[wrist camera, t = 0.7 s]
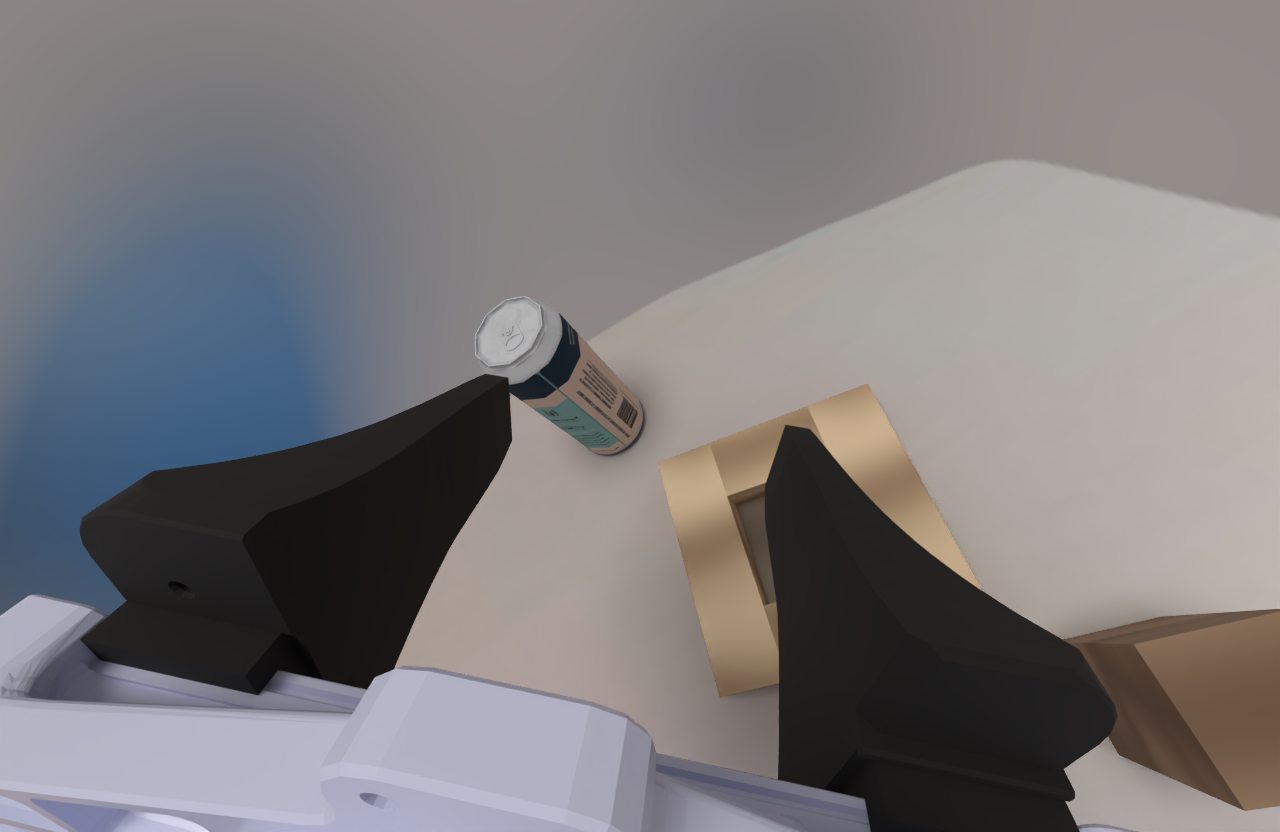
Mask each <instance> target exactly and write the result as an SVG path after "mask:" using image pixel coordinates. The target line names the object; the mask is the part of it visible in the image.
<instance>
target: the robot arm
mask: <svg viewBox="0 0 1280 832" xmlns="http://www.w3.org/2000/svg"><path fill="white" fill-rule="evenodd" d="M511 442H512V430H511V412H510V394H509V378H508V377H502V376H496V375H490V374H484V375H482V376H479V377H477V378H475V379H472V380H470V381H468V382H466V383H464V384H462V385H460V386H458V387H456V388H454V389H451V390H449V391H447V392H445V393H443V394H441V395H439V396H437V397H435V398H433V399H431V400H429V401H426V402H424V403H422V404H420V405H418V406H415V407H413V408H410V409H408V410H406V411H403V412H401V413H399V414H396V415H394V416H392V417H390V418H387V419H385V420H382V421H380V422H377V423H375V424H372V425H369V426H366V427H363V428H360V429H357V430H354V431H351V432H348V433H345V434H342V435H339V436H336V437H332V438H328V439H325V440H321V441H317V442H313V443H310V444H306V445H302V446H298V447H295V448H291V449H286V450H282V451H277V452H273V453H268V454H263V455H259V456H253V457H247V458H242V459H237V460H231V461H225V462H219V463H211V464H205V465H197V466H190V467H182V468H175V469H168V470H158V471H153V472H151V473H149V474H148V475H146V476H145V477H143V478H142V479H140V480H139V481H138V482H136V483H134V484H133V485H131V486H130V487H128V488H127V489H125V490H124V491H122V492H120V493H119V494H117V495H116V496H114V497H113V498H111V499H110V500H108V501H106V502H105V503H103V504H102V505H100V506H99V507H97V508H96V509H94V510H92V511H91V512H90V513H88V514H87V515H85V516H84V517H83V518H82V521H81V525H80V536H81V539H82V543H83V545H84V547H85V548H86V550H87V551H88V553H89V554H90V556H91V557H92V558H93V559H94V561H95V562H96V563H97V565H98V566H99V567H100V568H101V569H102V571H103V572H104V573H105V574H106V576H107V577H108V578H109V579H110V580H111V582H112V583H113V584H114V586H115V587H116V588H117V589H118V590H119V592H120V593H121V594H122V595H123V597H124V598H125V599H126V600H127V601H126V602H125V603H124V604H123V605H121V606H120V607H119V608H118V609H116V610H115V611H114V612H113V613H112V614H110V615H109V616H108V615H107V614H106V613H104V612H102V611H100V610H98V609H97V608H94V607H91V606H88V605H84V604H80V603H75V602H71V601H66V600H61V599H57V598H52V597H47V596H43V595H29V596H28V597H27V598H25V599H24V600H22V601H21V602H19V603H18V604H17V605H15V606H14V607H12V608H11V609H9V610H8V611H7V612H5V613H4V614H3V615H1V616H0V832H1137V831H1132V830H1128V829H1123V828H1118V827H1114V826H1109V825H1101V824H1086V825H1079V826H1077V825H1076V823H1075V821H1074V818H1073V816H1072V814H1071V812H1070V810H1069V808H1068V806H1067V804H1066V802H1065V801H1069V802H1070V801H1071V800H1073V799H1075V791H1074V789H1073V787H1072V785H1071V783H1070V781H1069V779H1068V777H1067V775H1066V773H1065V771H1064V768H1066V767H1067V766H1069V765H1070V764H1071V763H1073V762H1074V761H1076V760H1077V759H1079V758H1080V757H1082V756H1083V755H1084V754H1086V753H1087V752H1089V751H1090V750H1092V749H1093V748H1095V747H1096V746H1097V745H1099V744H1100V743H1101V742H1102V741H1103V740H1104V739H1105V738H1106V737H1108V736H1109V735H1110V734H1111V732H1112V730H1113V728H1114V725H1115V723H1116V720H1117V718H1118V716H1117V711H1116V707H1115V704H1114V702H1113V701H1112V699H1111V698H1110V696H1109V694H1108V693H1107V691H1106V690H1105V688H1104V687H1103V685H1102V684H1101V682H1100V681H1099V679H1098V677H1097V676H1096V674H1095V673H1094V671H1093V670H1092V668H1091V667H1090V665H1089V664H1088V662H1087V660H1086V659H1085V657H1084V656H1083V654H1082V653H1081V651H1080V650H1079V649H1078V648H1076V647H1074V646H1073V645H1071V644H1069V643H1067V642H1066V641H1064V640H1062V639H1060V638H1059V637H1057V636H1055V635H1054V634H1052V633H1050V632H1048V631H1047V630H1045V629H1043V628H1041V627H1040V626H1038V625H1036V624H1034V623H1033V622H1031V621H1029V620H1028V619H1026V618H1024V617H1022V616H1021V615H1019V614H1017V613H1016V612H1014V611H1012V610H1011V609H1009V608H1008V607H1006V606H1005V605H1003V604H1002V603H1000V602H998V601H997V600H995V599H994V598H992V597H991V596H989V595H988V594H986V593H985V592H983V591H982V590H980V589H979V588H977V587H976V586H974V585H973V584H971V583H970V582H969V581H967V580H966V579H964V578H963V577H961V576H960V575H959V574H957V573H956V572H954V571H953V570H952V569H951V568H949V567H948V566H947V565H945V564H944V563H943V562H941V561H940V560H939V559H937V558H936V557H935V556H933V555H932V554H931V553H929V552H928V551H927V550H926V549H925V548H923V547H922V546H921V545H920V544H918V543H917V542H916V541H915V540H914V539H913V538H911V537H910V536H909V535H908V534H907V533H906V532H905V531H903V530H902V529H901V528H900V527H899V526H898V525H897V524H895V523H894V522H893V521H892V520H891V519H890V518H889V517H888V516H887V515H886V514H885V513H884V512H883V511H882V510H881V509H880V508H879V507H878V506H877V505H876V504H875V503H874V502H873V501H872V500H871V499H870V498H869V497H868V496H867V495H866V494H865V493H864V492H863V491H862V489H861V488H860V487H859V486H858V485H857V484H856V483H855V482H854V481H853V479H852V478H851V477H850V476H849V475H848V474H847V473H846V471H845V470H844V469H843V468H842V467H841V465H840V464H839V463H838V462H837V461H836V459H835V458H834V457H833V456H832V455H831V453H830V452H829V451H828V450H827V448H826V447H825V446H824V445H823V444H822V442H821V441H820V440H819V439H818V437H817V436H816V435H815V434H814V433H813V432H812V431H811V429H808V428H802V427H796V426H791V425H785V427H784V430H783V433H782V436H781V439H780V442H779V445H778V448H777V451H776V454H775V457H774V460H773V463H772V466H771V469H770V472H769V475H768V478H767V481H766V484H765V524H766V532H767V539H768V547H769V554H770V561H771V568H772V575H773V582H774V589H775V596H776V605H777V617H778V647H779V765H778V780H777V779H772V778H768V777H763V776H759V775H754V774H749V773H745V772H740V771H736V770H731V769H727V768H722V767H718V766H713V765H708V764H704V763H699V762H695V761H690V760H686V759H681V758H676V757H672V756H667V755H663V754H658V753H656V751H655V747H654V744H653V740H652V737H651V736H650V735H649V733H648V732H647V731H646V729H644V728H643V727H642V726H640V725H639V724H638V723H636V722H635V721H634V720H633V719H631V718H630V717H629V716H627V715H626V714H625V713H622V712H619V711H617V710H614V709H611V708H608V707H605V706H602V705H600V704H597V703H594V702H591V701H586V700H581V699H577V698H572V697H567V696H563V695H558V694H553V693H549V692H544V691H539V690H535V689H530V688H525V687H521V686H516V685H511V684H507V683H502V682H497V681H493V680H488V679H483V678H479V677H474V676H469V675H465V674H460V673H455V672H451V671H446V670H441V669H437V668H428V667H413V666H402V667H399V668H396V669H394V668H395V665H396V663H397V660H398V658H399V655H400V653H401V651H402V649H403V646H404V644H405V642H406V639H407V637H408V635H409V632H410V630H411V628H412V625H413V623H414V621H415V619H416V616H417V614H418V612H419V610H420V608H421V606H422V604H423V601H424V599H425V597H426V595H427V593H428V591H429V589H430V586H431V584H432V582H433V580H434V578H435V576H436V574H437V572H438V570H439V568H440V566H441V564H442V562H443V560H444V558H445V556H446V554H447V552H448V550H449V548H450V547H451V545H452V543H453V542H454V540H455V538H456V536H457V535H458V533H459V532H460V530H461V529H462V527H463V525H464V524H465V522H466V521H467V519H468V518H469V516H470V515H471V513H472V512H473V510H474V508H475V507H476V505H477V504H478V502H479V501H480V499H481V498H482V496H483V495H484V493H485V491H486V490H487V488H488V487H489V485H490V483H491V482H492V480H493V479H494V477H495V475H496V474H497V472H498V471H499V468H500V466H501V464H502V462H503V460H504V458H505V456H506V453H507V451H508V449H509V446H510V444H511Z"/></svg>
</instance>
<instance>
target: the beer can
mask: <svg viewBox="0 0 1280 832" xmlns="http://www.w3.org/2000/svg"><path fill="white" fill-rule="evenodd" d="M475 355H476V356H477V357H478V361H479V364H480V366H481V369H482V371H483V372H484V374H490V375H496V376H502V377H508V378H509V392H510V393H511V394H513V395H514V396H516V397H517V398H519V399H520V400H521V401H523V402H524V403H526V404H527V405H528V406H530V407H531V408H533V409H534V410H535V411H537V412H538V413H540V414H541V415H543V416H544V417H545V418H547V419H548V420H550V421H551V422H552V423H554V424H555V425H557V426H558V427H559V428H561V429H562V430H564V431H565V432H567V433H568V434H569V435H571V436H572V437H574V438H575V439H576V440H578V441H579V442H581V443H582V444H583V445H585V446H586V447H587V448H588V449H589V450H591V451H592V452H594V453H597V454H613V453H616V452H619V451H621V450H623V449H625V448H626V447H627V446H629V445H630V444H631V443H632V442H633V440H634V439H635V438H636V437H637V435H638V433H639V431H640V428H641V426H642V421H643V410H642V407H641V404H640V402H639V400H638V399H637V398H636V397H635V396H634V395H633V393H632V392H631V391H630V390H629V389H628V388H627V387H626V386H625V385H624V384H623V383H622V381H621V380H620V379H619V378H618V377H617V376H616V375H615V374H614V373H613V372H612V370H611V369H610V368H609V367H608V366H607V365H606V364H605V363H604V362H603V361H602V360H601V358H600V357H599V356H598V355H597V354H596V353H595V352H594V351H593V350H592V349H591V347H590V346H589V345H588V344H587V343H586V342H585V341H584V340H583V339H582V338H581V337H580V336H579V334H578V333H577V332H576V331H575V330H574V329H573V328H572V327H571V326H570V325H569V323H568V322H567V321H566V320H565V319H564V318H563V317H562V316H561V315H560V314H559V313H558V311H557V310H556V309H555V308H554V307H553V306H552V305H550V304H548V303H546V302H544V301H541V300H536V299H532V298H528V297H527V296H522V297H517V298H512V299H506V300H504V301H503V302H502V303H500V304H499V305H498V306H496V307H495V308H494V309H493V310H491V311H490V312H489V313H488V314H486V316H485V318H484V319H483V321H482V323H481V325H480V327H479V329H478V331H477V332H476V334H475Z"/></svg>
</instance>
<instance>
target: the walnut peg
mask: <svg viewBox="0 0 1280 832" xmlns="http://www.w3.org/2000/svg"><path fill="white" fill-rule="evenodd" d="M1064 641H1066V642H1067V643H1069V644H1071V645H1073V646H1074V647H1076V648H1078V649H1079V650H1080V651H1081V653H1082V654H1083V656H1084V657H1085V659H1086V660H1087V662H1088V664H1089V665H1090V667H1091V668H1092V670H1093V671H1094V673H1095V674H1096V676H1097V677H1098V679H1099V681H1100V682H1101V684H1102V685H1103V687H1104V688H1105V690H1106V691H1107V693H1108V694H1109V696H1110V698H1111V699H1112V701H1113V702H1114V704H1115V707H1116V711H1117V716H1118V718H1117V720H1116V723H1115V725H1114V728H1113V730H1112V732H1111V734H1110V735H1109V736H1108V737H1109V738H1110V740H1111V742H1112V743H1113V745H1114V747H1115V748H1116V750H1117V752H1118V753H1119V755H1121V756H1123V757H1125V758H1127V759H1130V760H1132V761H1134V762H1136V763H1139V764H1141V765H1143V766H1145V767H1148V768H1150V769H1152V770H1154V771H1157V772H1159V773H1161V774H1163V775H1166V776H1168V777H1170V778H1172V779H1175V780H1177V781H1179V782H1181V783H1184V784H1186V785H1188V786H1190V787H1193V788H1195V789H1197V790H1199V791H1202V792H1204V793H1206V794H1208V795H1211V796H1213V797H1215V798H1217V799H1220V800H1222V801H1224V802H1226V803H1229V804H1231V805H1233V806H1235V807H1238V808H1240V809H1242V810H1244V811H1247V810H1254V809H1261V808H1268V807H1275V806H1280V609H1271V610H1256V611H1241V612H1226V613H1211V614H1196V615H1181V616H1166V617H1159V618H1155V619H1150V620H1146V621H1142V622H1137V623H1133V624H1129V625H1124V626H1120V627H1116V628H1112V629H1107V630H1103V631H1099V632H1094V633H1090V634H1086V635H1081V636H1077V637H1073V638H1068V639H1064Z"/></svg>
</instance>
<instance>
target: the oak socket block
mask: <svg viewBox="0 0 1280 832" xmlns="http://www.w3.org/2000/svg"><path fill="white" fill-rule="evenodd" d="M785 425H791V426H796V427H802V428H808V429H811V431H812V432H813V433H814V434H815V435H816V436H817V437H818V439H819V440H820V441H821V442H822V444H823V445H824V446H825V447H826V448H827V450H828V451H829V452H830V453H831V455H832V456H833V457H834V458H835V459H836V461H837V462H838V463H839V464H840V465H841V467H842V468H843V469H844V470H845V471H846V473H847V474H848V475H849V476H850V477H851V478H852V479H853V481H854V482H855V483H856V484H857V485H858V486H859V487H860V488H861V489H862V491H863V492H864V493H865V494H866V495H867V496H868V497H869V498H870V499H871V500H872V501H873V502H874V503H875V504H876V505H877V506H878V507H879V508H880V509H881V510H882V511H883V512H884V513H885V514H886V515H887V516H888V517H889V518H890V519H891V520H892V521H893V522H894V523H895V524H897V525H898V526H899V527H900V528H901V529H902V530H903V531H905V532H906V533H907V534H908V535H909V536H910V537H911V538H913V539H914V540H915V541H916V542H917V543H918V544H920V545H921V546H922V547H923V548H925V549H926V550H927V551H928V552H929V553H931V554H932V555H933V556H935V557H936V558H937V559H939V560H940V561H941V562H943V563H944V564H945V565H947V566H948V567H949V568H951V569H952V570H953V571H954V572H956V573H957V574H959V575H960V576H961V577H963V578H964V579H966V580H967V581H969V582H970V583H971V584H973V585H974V586H976V587H977V588H979V589H980V590H982V589H981V587H980V586H979V584H978V582H977V580H976V578H975V576H974V575H973V573H972V571H971V569H970V567H969V566H968V564H967V562H966V560H965V558H964V557H963V555H962V553H961V551H960V549H959V548H958V546H957V544H956V542H955V540H954V539H953V537H952V535H951V533H950V531H949V530H948V528H947V526H946V524H945V522H944V520H943V519H942V517H941V515H940V513H939V511H938V510H937V508H936V506H935V504H934V502H933V501H932V499H931V497H930V495H929V493H928V492H927V490H926V488H925V486H924V484H923V483H922V481H921V479H920V477H919V475H918V473H917V472H916V470H915V468H914V466H913V464H912V463H911V461H910V459H909V457H908V455H907V454H906V452H905V450H904V448H903V446H902V445H901V443H900V441H899V439H898V437H897V436H896V434H895V432H894V430H893V428H892V427H891V425H890V423H889V421H888V419H887V417H886V416H885V414H884V412H883V410H882V408H881V407H880V405H879V403H878V401H877V399H876V398H875V396H874V394H873V392H872V390H871V389H870V387H869V385H868V384H865V385H862V386H860V387H857V388H855V389H852V390H849V391H847V392H844V393H841V394H839V395H836V396H833V397H831V398H828V399H825V400H823V401H820V402H818V403H815V404H812V405H810V406H807V407H804V408H802V409H799V410H796V411H794V412H791V413H788V414H786V415H783V416H781V417H778V418H775V419H773V420H770V421H767V422H765V423H762V424H759V425H757V426H754V427H751V428H749V429H746V430H744V431H741V432H738V433H736V434H733V435H730V436H728V437H725V438H722V439H720V440H717V441H714V442H712V443H709V444H707V445H704V446H701V447H699V448H696V449H693V450H691V451H688V452H685V453H683V454H680V455H678V456H675V457H672V458H670V459H667V460H664V461H662V462H659V463H658V465H659V469H660V473H661V477H662V480H663V484H664V488H665V492H666V496H667V499H668V503H669V507H670V511H671V514H672V518H673V522H674V526H675V530H676V533H677V537H678V541H679V545H680V548H681V552H682V556H683V560H684V564H685V567H686V571H687V575H688V579H689V582H690V586H691V590H692V594H693V598H694V601H695V605H696V609H697V613H698V616H699V620H700V624H701V628H702V632H703V635H704V639H705V643H706V647H707V651H708V654H709V658H710V662H711V666H712V669H713V673H714V677H715V681H716V685H717V688H718V692H719V696H720V698H721V697H725V696H730V695H734V694H738V693H742V692H746V691H750V690H754V689H758V688H762V687H766V686H771V685H775V684H779V647H778V617H777V605H776V596H775V589H774V582H773V575H772V568H771V561H770V554H769V547H768V539H767V532H766V524H765V484H766V481H767V478H768V475H769V472H770V469H771V466H772V463H773V460H774V457H775V454H776V451H777V448H778V445H779V442H780V439H781V436H782V433H783V430H784V427H785Z"/></svg>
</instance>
